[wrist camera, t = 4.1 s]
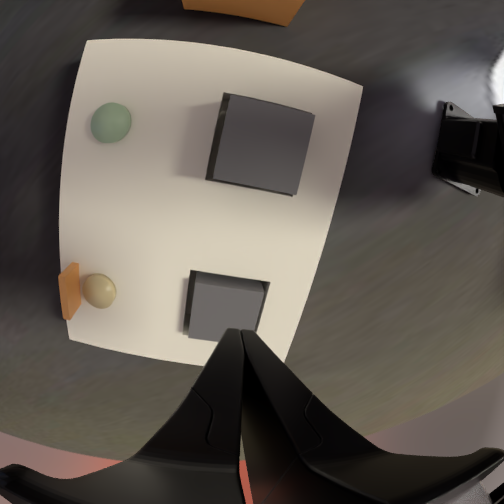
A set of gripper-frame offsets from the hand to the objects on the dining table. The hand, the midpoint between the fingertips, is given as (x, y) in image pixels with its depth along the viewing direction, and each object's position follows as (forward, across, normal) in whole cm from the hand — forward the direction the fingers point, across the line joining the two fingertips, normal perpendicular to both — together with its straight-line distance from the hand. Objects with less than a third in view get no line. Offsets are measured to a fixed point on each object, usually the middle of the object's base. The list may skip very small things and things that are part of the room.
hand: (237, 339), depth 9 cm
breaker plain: (+9, -1, -6) cm, 11 cm away
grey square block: (+10, 0, +4) cm, 11 cm away
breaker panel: (+11, +3, -1) cm, 11 cm away
